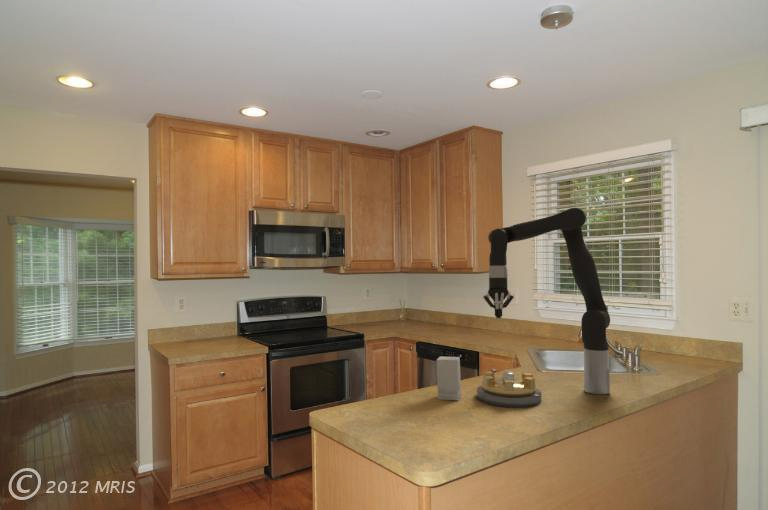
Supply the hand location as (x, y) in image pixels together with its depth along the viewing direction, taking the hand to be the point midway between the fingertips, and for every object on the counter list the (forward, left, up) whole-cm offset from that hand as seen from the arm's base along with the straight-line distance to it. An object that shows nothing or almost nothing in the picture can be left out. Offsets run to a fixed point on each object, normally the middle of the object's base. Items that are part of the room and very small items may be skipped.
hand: (498, 317), depth 209 cm
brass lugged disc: (-5, +16, -26) cm, 31 cm away
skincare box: (+17, +22, -29) cm, 40 cm away
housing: (-5, +16, -29) cm, 33 cm away
